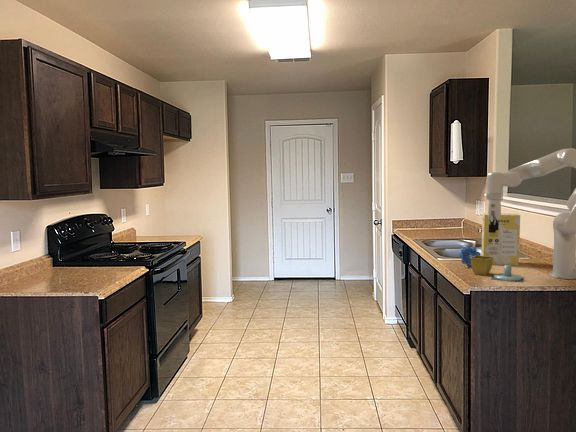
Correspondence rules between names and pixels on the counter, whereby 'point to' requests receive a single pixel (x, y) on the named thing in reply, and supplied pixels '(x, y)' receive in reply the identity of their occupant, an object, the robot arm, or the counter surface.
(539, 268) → the counter surface
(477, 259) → the flower pot
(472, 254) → the grapes
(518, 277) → the lid
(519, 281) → the mat
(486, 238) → the pasta box
